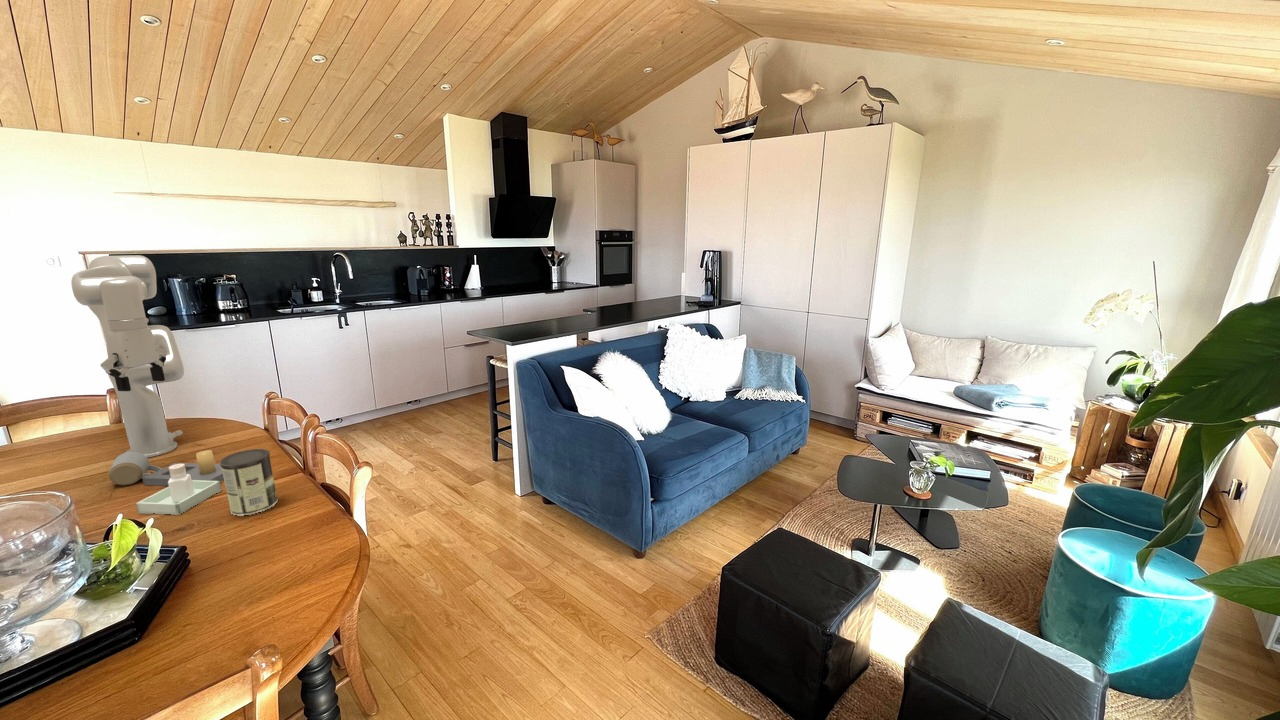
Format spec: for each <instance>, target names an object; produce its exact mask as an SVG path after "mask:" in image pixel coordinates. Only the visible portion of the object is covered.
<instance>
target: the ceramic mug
mask: <svg viewBox="0 0 1280 720" xmlns="http://www.w3.org/2000/svg"><path fill="white" fill-rule="evenodd" d="M149 459H150V458H149V457H148V458H147V457H146V456H145V455H143V454H141V453H138V452H127V453H125V452H124V453H121V454H119V455H118V456H117V457H116V458H115V459H114V460H113V463H112V464H111V467H110V468H109V470H108V478H109V480H110V481H111V483H113V484H115V485H118V486H130V485H133V484H135V483H137V482H140V480H141V479H142V478H143V477H145V476H148V475H150V474H151V473H148V472H147V471H152V472H156V471H158V470H161V469H162V467H159V466H156V465H153V464H150V460H149ZM146 472H147V473H146Z"/></svg>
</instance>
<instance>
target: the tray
mask: <svg viewBox="0 0 1280 720" xmlns="http://www.w3.org/2000/svg"><path fill="white" fill-rule="evenodd" d="M221 483H222V482H220V481H206V480H192V484H193V488H194V494H193V495H191V496H190V497H188V498H186V499H184V500H182V501H180V502H173V501H172V498H171V493H170V489H169V486H166V487H165V488H163V489H161V490H159V491H156V493H153V494H151V495H150V496H147V497H145V498H143V499H141V500H140V501H138V502H136V503H135V506H136V509H137V514H138V515H139V514H141V515H142V514H144V515H145V514H146V515H164V514H171V515H170V516H180V515H181V513H182V514H184V513H186V512H187V511H189V510H191V509H192V508H194V507H196V506H198V505H199V504H201V503H203V502H205V501H206V500H208V499H210V498H212V497H213V496H215V495H217V494H219V493H220V492H222V491H223V488H222V485H221ZM216 493H217V494H216ZM214 494H215V495H214ZM212 495H213V496H212ZM211 496H212V497H211ZM209 497H210V498H209ZM207 498H208V499H207ZM204 500H205V501H204ZM202 501H203V502H202ZM200 502H201V503H200ZM198 503H199V504H198ZM197 504H198V505H197ZM195 505H196V506H195ZM193 506H194V507H193ZM191 507H192V508H191ZM190 508H191V509H190ZM188 509H189V510H188ZM186 510H187V511H186ZM183 512H184V513H183ZM153 513H155V514H153Z"/></svg>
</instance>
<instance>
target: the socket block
mask: <svg viewBox="0 0 1280 720" xmlns="http://www.w3.org/2000/svg"><path fill="white" fill-rule="evenodd" d="M195 456H196V460H197V463H194V462H193V463H192V462H190V463H189V462H174V463H171V464H169V465H167V466H165V467H162V468H161V470H158V471H156V472H155V471H153V472H152V473H150V475H148V476H145V477H143V478H141V479H142V482H143V485H144V486H155V487H156V486H159V487H160V486H161V487H169V485H168V481H169V479H170V478H171V475H170V471H169V467H170V466H172V465H176V464H184V465H185V469H186V474H190V475H191V479H192V480H206V481H220V483H222V482H223V480H224V477H223V473H222V468H221V466H220V463H215V459H214V454H213V450H211V449H207V450H201V451H198V452H196V453H195ZM221 481H222V482H221Z"/></svg>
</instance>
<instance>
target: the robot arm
mask: <svg viewBox="0 0 1280 720" xmlns="http://www.w3.org/2000/svg"><path fill="white" fill-rule="evenodd" d="M157 288H158V287H157V273H156V267H155V266H154V264H153V262H152V261H151V260H150V259H149V258H148V257H146V256H144V255H139V254H137V255H136V254H135V255H127V254H126V255H104V256H103V255H101V256H98V257H96V258H94V259H92V260H91V261H90V263H89V264H88V268H87V269H85V270H84V269H83V270H80V271H78V272H76V273H74V274H73V276H72V278H71V289H72V293H73V297H74V298H75V300H76V302H78V303H79V304H80V305H83V306H86V307H88V308H89V310H91V312H92V313H93V315H95V316H96V317H97V318H98V320H99V322H100V324H101V325H100V326H101V328H102V331H103V334H104V335H103V336H104V339H105V344H106V351H107V358H106V359H105V360H104V361H102V363H100V367H101V368H102V369H103V370H104V371H105V373H106V374H107V375H108V378H109V380H110V382H111V385H112V386H113V388H114V392H115V394H116V396H117V400H118V404H119V408H120V411H121V416H122V419H123V423H124V424H123V425H124V428H125V432H126V436H127V441H128V444H129V447H130V448H128V449H127V450H126V451H124V453H127V452H138V453H141V454H143V455H145V456H146V457H147V458H148V459H149V458H151V457H157V456H159V455H165V454H167V453H170V452H171V451H173V450H175V449H176V448H177V447H178V443H177V441H174V440H175V438H177V437H179V436H182V435H183V431H182V430H181V429H178V430H176V431H172V432H171V431H169V430H168V427H167V426H168V425H167V422H166V417H165V413H164V410H163V409H164V408H163V404H162V399H161V397H160V395H159V394H158V393H157V392H156V391H154V390H152V389H150V388H148V386H152V385H158V384H164V383H171V382H176V381H179V380H180V379H182V378H183V377H184V375H185V370H184V369H185V368H184V363H183V361H182V358H181V355H180V352H179V347H178V345H177V342H176V338H175V336H174V334H173V332H172V331H171V329H170V328H169V327H168V326H165V325H163V324H162V325H161V324H153V325H148V323H149V322H150V321H149V320H150V319H149V318H148V317H146V313H145V312H146V311H145V308H144V304H143V301H144V300H149V299H153V298H154V297H156V295H157V291H158V290H157Z"/></svg>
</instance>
